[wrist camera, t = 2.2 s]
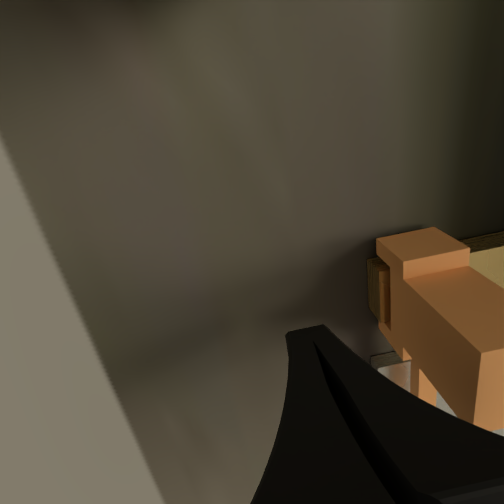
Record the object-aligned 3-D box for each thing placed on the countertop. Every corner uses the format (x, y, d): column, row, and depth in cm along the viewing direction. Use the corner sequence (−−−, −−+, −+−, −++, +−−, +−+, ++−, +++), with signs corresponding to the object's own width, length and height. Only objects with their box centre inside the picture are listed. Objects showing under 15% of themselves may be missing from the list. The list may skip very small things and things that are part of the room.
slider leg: (433, 226, 15) (577, 310, 9) (426, 418, 19) (518, 554, 14) (376, 238, 15) (484, 330, 9) (381, 428, 19) (455, 570, 13)
